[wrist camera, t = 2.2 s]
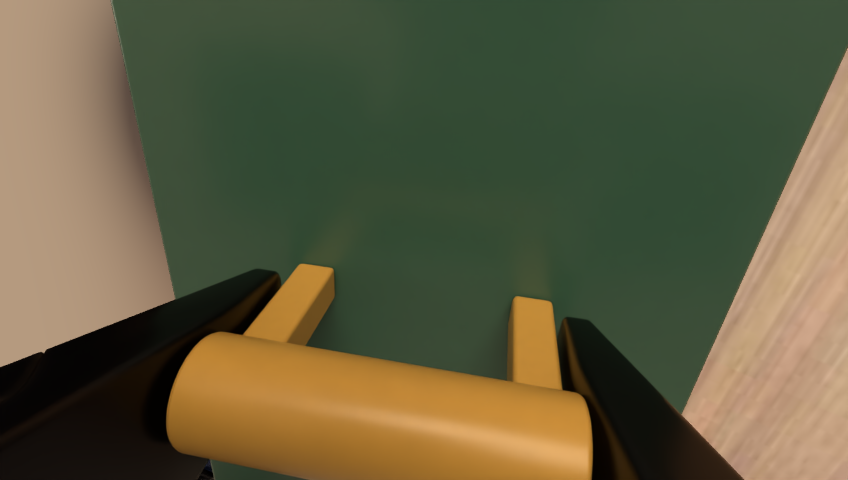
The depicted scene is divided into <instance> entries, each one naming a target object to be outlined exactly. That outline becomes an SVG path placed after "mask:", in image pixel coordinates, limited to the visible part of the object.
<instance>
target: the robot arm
mask: <svg viewBox="0 0 848 480" xmlns="http://www.w3.org/2000/svg"><path fill="white" fill-rule="evenodd" d="M281 287H282V285H281V277H280V275H279V274H278V273H277V272H276V271H272V270H265V269H259V268H257V269H253V270H250V271H248V272H245V273H242V274H240V275H237V276H235V277H232V278H230V279H227V280H224V281H222V282H219V283H217V284H214V285H212V286H209V287H206V288H204V289H201V290H199V291H196V292H194V293H191V294H188V295H186V296H183V297H181V298H178V299H175V300H173V301H170V302H168V303H165V304H163V305H160V306H157V307H155V308H153V309H150V310H147V311H145V312H142V313H140V314H137V315H135V316H132V317H129V318H127V319H124V320H122V321H119V322H116V323H114V324H112V325H109V326H106V327H103V328H101V329H98V330H96V331H93V332H91V333H88V334H85V335H83V336H80V337H78V338H75V339H73V340H70V341H68V342H65V343H62V344H60V345H57V346H54V347H52V348H49V349H47V350H46V351H45V353H42V352H39V353H36V354H33V355H31V356H28V357H26V358H23V359H21V360H18V361H16V362H13V363H10V364H8V365H5V366H2V367H0V480H214V475H213V472H210V471H208V470H206V469H204V467H205V465H206V464H207V462H208V460H209V459H207V458H202V457H197V456H192V455H188V454H183V453H180V452H178V451H177V450H176V449H175V448H174V447H173V446H172V445H171V443H170V441H169V438H168V435H167V429H166V414H167V406H168V401H169V397H170V393H171V390H172V387H173V384H174V381H175V379H176V376H177V374H178V372H179V370H180V368H181V366H182V364H183V362H184V361H185V359H186V357H187V356H188V354H189V353H190V352H191V350H192V349H193V348H194V347H195V346H196V345H197V344H198V343H199V342H200V341H201V340H202V339H203V338H205V337H206V336H208V335H210V334H213V333H216V332H228V333H233V334H239V335H243V334H244V333H245V331H246V330H247V329H248V328H249V326H250V325H251V324H252V323H253V321H254V320H255V319H256V318H257V316H258V315H259V314H260V313H261V311H262V310H263V309H264V308H265V306H266V305H267V304H268V303H269V301H270V300H271V299H272V298H273V297H274V295H275V294H276V293H277V292H278V290H279V289H280V288H281ZM557 347H558V355H559V364H560V372H561V380H562V389H563V390H564V391H570V392H576V393H578V394H580V395H581V396H583V398H584V399H585V401H586V404H587V407H588V410H589V415H590V419H591V426H592V438H593V468H592V480H744V479H743V478H742V477H741V476H740V475H739V474H738V473H737V472H736V471H735V470H734V469H733V468H732V467H731V465H730V464H729V463H728V462H727V461H726V460H725V459H724V458H723V457H722V456H721V455H720V454H719V453H718V452H717V451H716V450H715V449H714V448H713V447H712V446H711V445H710V444H709V443H708V442H707V441H706V440H705V439H704V438H703V437H702V436H701V435H700V434H699V432H698V431H697V430H696V429H695V428H694V427H693V426H692V425H691V424H690V423H689V422H688V421H687V420H686V419H685V418H684V417H683V416H682V415H681V414H680V413H679V412H678V411H677V410H676V409H675V408H674V407H673V406H672V405H671V404H670V403H669V402H668V401H667V399H666V398H665V397H664V396H663V395H662V394H661V393H660V392H659V391H658V390H657V389H656V388H655V387H654V386H653V385H652V384H651V383H650V382H649V381H648V380H647V379H646V378H645V377H644V376H643V375H642V374H641V373H640V372H639V371H638V370H637V369H636V368H635V367H634V365H633V364H632V363H631V362H630V361H629V360H628V359H627V358H626V357H625V356H624V355H623V354H622V353H621V352H620V351H619V350H618V349H617V348H616V347H615V346H614V345H613V344H612V343H611V342H610V341H609V340H608V339H607V338H606V337H605V336H604V335H603V334H602V332H601V331H600V330H599V329H598V328H597V327H596V326H595V325H594V324H593V323H592V322H591V321H589V320H587V319H581V318H575V317H565V318H564V319H563V320H562V322H561V326H560V329H559V333H558V337H557Z"/></svg>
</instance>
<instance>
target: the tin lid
mask: <svg viewBox="0 0 848 480" xmlns="http://www.w3.org/2000/svg"><path fill="white" fill-rule="evenodd" d="M111 4H112V9H113V14H114V18H115V23H116V27H117V32H118V37H119V42H120V46H121V51H122V55H123V60H124V65H125V69H126V74H127V78H128V83H129V88H130V92H131V97H132V101H133V106H134V111H135V115H136V120H137V125H138V129H139V133H140V138H141V143H142V148H143V152H144V157H145V161H146V166H147V171H148V175H149V180H150V184H151V189H152V194H153V198H154V203H155V208H156V212H157V217H158V221H159V226H160V231H161V235H162V240H163V244H164V249H165V253H166V258H167V263H168V267H169V272H170V276H171V281H172V286H173V291H174V295H175V299H178V298H181V297H183V296H186V295H188V294H191V293H194V292H196V291H199V290H201V289H204V288H206V287H209V286H212V285H214V284H217V283H219V282H222V281H224V280H227V279H230V278H232V277H235V276H237V275H240V274H242V273H245V272H248V271H250V270H253V269H257V268H259V269H265V270H272V271H276V272H277V273H278V274H279V275H280V277H281V285H282V287H281V288H280V289H279V290H278V292H277V293H276V294H275V295H274V297H273V298H272V299H271V300H270V301H269V303H268V304H267V305H266V306H265V308H264V309H263V310H262V311H261V313H260V314H259V315H258V316H257V318H256V319H255V320H254V321H253V323H252V324H251V325H250V326H249V328H248V329H247V330H246V331H245V333H244V334H243V335H239V334H233V333H228V332H216V333H213V334H210V335H208V336H206V337H205V338H203V339H202V340H201V341H200V342H199V343H198V344H197V345H196V346H195V347H194V348H193V349H192V350H191V352H190V353H189V354H188V356H187V357H186V359H185V361H184V362H183V364H182V366H181V368H180V370H179V372H178V374H177V376H176V379H175V381H174V384H173V387H172V390H171V393H170V397H169V401H168V406H167V414H166V429H167V435H168V438H169V441H170V443H171V445H172V446H173V447H174V448H175V449H176V450H177V451H178V452H180V453H183V454H188V455H192V456H197V457H202V458H207V459H210V461H211V466H212V470H213V475H214V480H592V468H593V438H592V426H591V419H590V415H589V410H588V407H587V404H586V401H585V399H584V398H583V396H581V395H580V394H578V393H576V392H570V391H564V390H563V389H562V380H561V372H560V364H559V355H558V347H557V337H558V333H559V329H560V326H561V322H562V320H563V319H564V318H565V317H575V318H581V319H587V320H589V321H591V322H592V323H593V324H594V325H595V326H596V327H597V328H598V329H599V330H600V331H601V332H602V334H603V335H604V336H605V337H606V338H607V339H608V340H609V341H610V342H611V343H612V344H613V345H614V346H615V347H616V348H617V349H618V350H619V351H620V352H621V353H622V354H623V355H624V356H625V357H626V358H627V359H628V360H629V361H630V362H631V363H632V364H633V365H634V367H635V368H636V369H637V370H638V371H639V372H640V373H641V374H642V375H643V376H644V377H645V378H646V379H647V380H648V381H649V382H650V383H651V384H652V385H653V386H654V387H655V388H656V389H657V390H658V391H659V392H660V393H661V394H662V395H663V396H664V397H665V398H666V399H667V401H668V402H669V403H670V404H671V405H672V406H673V407H674V408H675V409H676V410H677V411H678V412H679V413H680V414H682V412H683V410H684V408H685V406H686V403H687V401H688V399H689V397H690V395H691V392H692V390H693V388H694V386H695V383H696V381H697V379H698V377H699V375H700V372H701V370H702V368H703V366H704V364H705V361H706V359H707V357H708V355H709V353H710V350H711V348H712V346H713V344H714V342H715V339H716V337H717V335H718V333H719V330H720V328H721V326H722V324H723V322H724V319H725V317H726V315H727V313H728V311H729V308H730V306H731V304H732V302H733V300H734V297H735V295H736V293H737V291H738V289H739V286H740V284H741V282H742V280H743V277H744V275H745V273H746V271H747V269H748V266H749V264H750V262H751V260H752V258H753V255H754V253H755V251H756V249H757V247H758V244H759V242H760V240H761V238H762V236H763V233H764V231H765V229H766V227H767V224H768V222H769V220H770V218H771V216H772V213H773V211H774V209H775V207H776V205H777V202H778V200H779V198H780V196H781V194H782V191H783V189H784V187H785V185H786V183H787V180H788V178H789V176H790V174H791V171H792V169H793V167H794V165H795V163H796V160H797V158H798V156H799V154H800V152H801V149H802V147H803V145H804V143H805V141H806V138H807V136H808V134H809V132H810V130H811V127H812V125H813V123H814V121H815V118H816V116H817V114H818V112H819V110H820V107H821V105H822V103H823V101H824V99H825V96H826V94H827V92H828V90H829V88H830V85H831V83H832V81H833V79H834V77H835V74H836V72H837V70H838V68H839V65H840V63H841V61H842V59H843V57H844V54H845V52H846V50H847V48H848V0H111Z"/></svg>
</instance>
